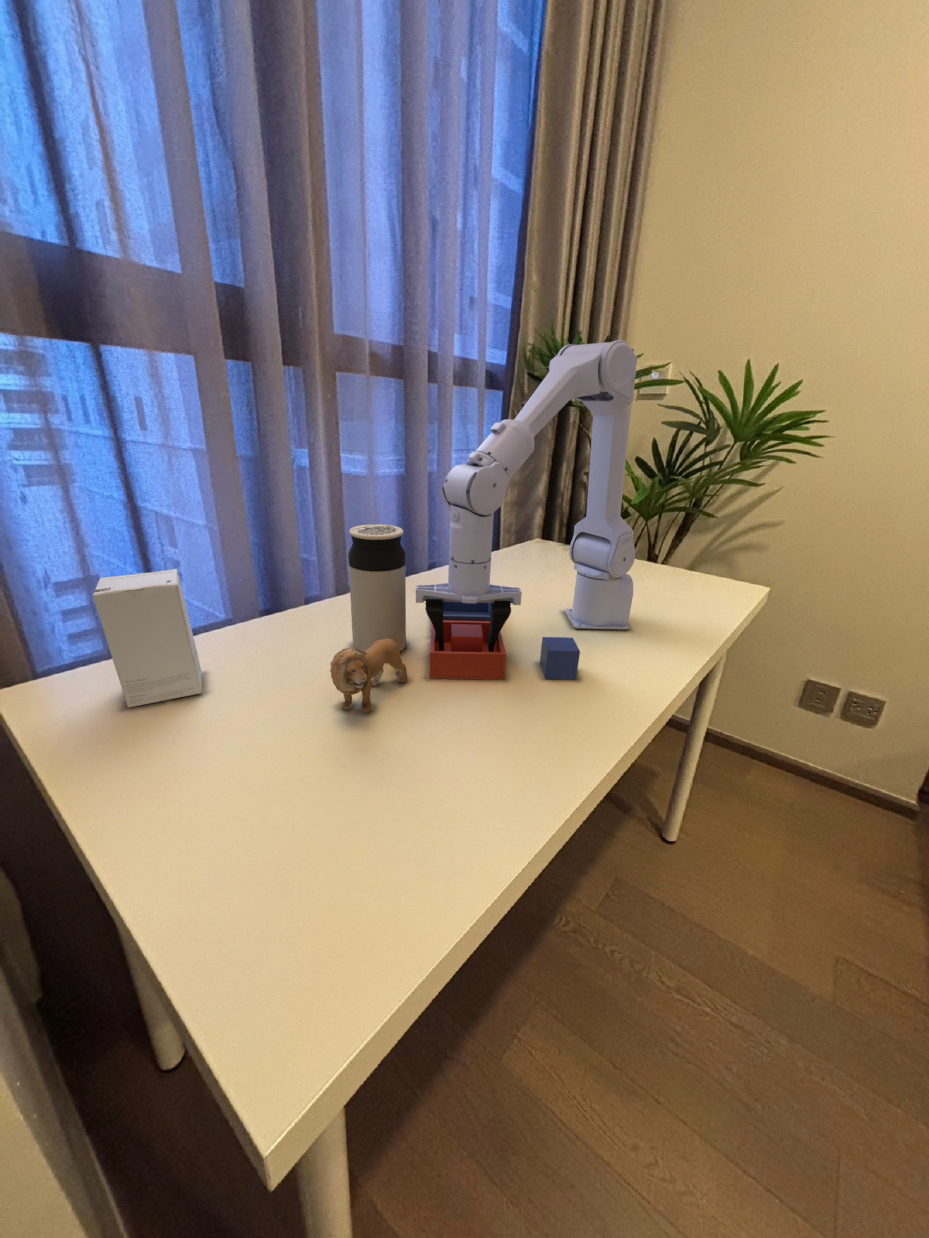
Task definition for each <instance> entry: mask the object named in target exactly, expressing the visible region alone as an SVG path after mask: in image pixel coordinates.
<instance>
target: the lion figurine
mask: <svg viewBox="0 0 929 1238" xmlns="http://www.w3.org/2000/svg"><path fill="white" fill-rule="evenodd" d="M329 664H330V669H329V672H330V677H331V681H332V684H333V685H334V686H335V688H336V690H337V691H339V692H340V693H341V694H342V695H343V698H344V701H342V702H341V705H340V707H341V709H342V710H349V709H350V708H351V707H352V706H353V696H354V695H357V694H359V693H360V692H361V698H362V699H361V708H360V709H361V712H362V713H370V712H372V710H373V709H372V702H371V693H372V692H371V691H372V687H374V686H377V685H378V684H379V683H380V681H381V678H382V676H383V675H384V672H385V671H384V666H385V665H386V664H387V665H389V666H391V667H392V668H393V669H394V670H395V671H399V672H400V675H399V676H398V677H397V681H398V682H399V683H406V682H407V681H408V674H407V666H406V664H405V663H404V662H403V660H402V657H401V651H399V647H398V645H397V643H396V642H395V641H394V640H392V639H382V640H377V641H376V642H374V643H373V644H372V645H371V646H370V647H369V648H368V649H367V650H365V651H364V652H361V651H360V650H358V649H354V647H353V648H352V647H347V648H342V649H341V650H340V651H339V650H338V652H337V653H336V654H334V656H333V658H332V660H331V661H330V663H329Z"/></svg>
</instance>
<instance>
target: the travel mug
mask: <svg viewBox="0 0 929 1238" xmlns="http://www.w3.org/2000/svg"><path fill="white" fill-rule="evenodd" d="M348 534H349V535H350V536H351V541H352V545H351V546H350V549H349V551H348V553H347V555H348V576H349V592H350V593H349V596H350V613H351V614H350V615H351V633H352V647H353V649H358V650H360V651H361V652H364V651H365V650H367V649H368V648H369V647H370V646H371V645H372V644H373V643H374V642H376V641H377V640H382V639H392V640H394V641H395V642H396V643H397V645H398V647H399V651H400V652H401V651H403V650H404V649H405V647H406V645H407V613H406V612H407V603H406V602H407V601H406V600H407V599H406V598H407V597H406V596H407V595H406V594H407V593H406V592H407V591H406V586H407V585H406V578H407V577H406V551H405V549H404V547H403V545H402V543H401V542H402V536H403V534H404V529H403V528H402V527H399V526H396V525H393V524H384V523H383V524H381V523H379V524H378V523H375V524H373V523H371V524H360V525H356V526H353V527H351V528H350V529H349V530H348Z"/></svg>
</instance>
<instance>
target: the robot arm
mask: <svg viewBox="0 0 929 1238" xmlns="http://www.w3.org/2000/svg"><path fill="white" fill-rule="evenodd" d="M637 365H638V357H637V356H636V353H635V352H634V350H633V349H632V348H631V345H629V343H628V342H627V341H626V340H622V339H616V340H612V341H610V342H609V341H607V342H606V341H605V342H595V343H583V344H574V343H571V344H569V343H568V344H566V345H564V346H562V348H560V350H558V352H557V354H556V355H555V356H554V357H553V358H551V359H550V361H549V366H548V368H549V369H548V372H547V374H546V375H545V377H544V378H543V379H542V381H541V382H540V384H539V385H538V386H537V388H536V389H535V391H533V393H532V395H531V396H530V397H529V399H528V400H527V401H526V403H525V404H524V405H523V407H522V408H521V409H520V411H519V412H518V414H517V415H516V417H514V419H508V418H507V419H503V420H501V421H499V422H494V424H493V425H492V426H491V427H490V434H489V435H488V436H487V437H486V438H485V439H484V440H483V442H482V443H480V445H479V447H477V449H476V450H475V451H472V452H471V453H470V454H469V455H468V457H467V458H468V459H467V460H466V462H465V463H461V464H457V465H455V466H453V468H452V469H450V471H448V473H447V475H446V477H445V480H444V484H443V485H441V486H440V493H441V497H442V499H443V501H444V503H445V504H446V507H447V517H448V518H449V534H448V535H449V541H448V575H447V577H448V578H447V582H446V583H435V584H417V585H415V603H416V604H423V603H425V612H426V615H427V617H428V618H429V620H430V623H431V626H432V625H433V627H434V630H435V633H436V636H437V640H438V644H439V651H444V629H443V608H444V602H462V603H477V602H480V603H491V608H490V627H489V634H488V651H489V652H493V651H494V646H495V643H496V640H497V637H498V635H499V633H500V631H502V628H503V627H504V625H505V624H506V622H507V620H508V619H509V618H510V616H511V613H512V607H511V605H513V606H521V604H522V593H523V592H522V590H521V588H520V587H516V586H515V587H514V586H513V587H512V586H503V585H497V584H491V567H492V551H493V550H492V549H493V534H494V533H493V532H494V518H495V517H494V516H495V512H496V511H497V510H498V509H499V508H501V507H502V505H503V503H504V501H505V498H506V494H507V488H508V487H509V486H510V482H511V479H512V478H513V477H514V475H515V474H516V473H517V472H518V471H519V469H520V468H521V467H522V466H523V464H524V463H525V462H526V461H527V460H528V458H529V457H531V455H532V454H533V453H534V451H535V437H536V436H537V435H538V433H539V432H540V431H541V430H543V428H544V427H545V426H546V425H547V424H548V423H549V422H550V421H551V420H552V419H553V418H554V417H555V416H556V415H557V414H558V413H559V412H560V411H561V410H562V409H563V408H564V407H565V406H566V404H568V403H569V401H571V400H573V399H575V400H576V401H578V402H581V403H582V404H583V405H585V407H586V408H587V409H588V410H589V412H590V413H591V414H592V427H591V443H590V457H589V470H588V471H589V472H588V484H587V485H588V487H587V499H586V500H587V501H586V514H585V515H586V516H585V517H583V518H582V519H581V520H580V521H578V522H577V523H576V524H575V525H573V527H574V529H573V536H572V539H571V542H570V545H569V550H568V552H569V553H568V555H569V558H570V561H571V562H572V563H573V564H574V565H573V570H575V571H576V577H575V583H574V584H575V586H574V592H573V600H572V607H571V608H566V609H565V610H564V612H565V615H566V616H567V618H568V620H569V621H570V624H572V626H573V628H574V629H585V630H629V629H630V626H629V621H630V614H631V610H632V609H631V608H632V603H633V599H634V598H633V597H634V580H633V577H632V576H631V574H629V573H628V572H629V571H630V570H631V569H632V567H633V565H634V563H635V559H636V548H635V543H634V536H635V531H634V530H633V528H632V527H631V526H630V525H629V524H628V523H627V522H626V521H625V520H624V519H623V517H622V516H621V513H622V503H623V493H624V483H625V482H624V481H625V473H626V463H627V453H628V442H629V432H630V422H631V412H632V411H631V410H632V405H633V403H634V396H635V386H636V377H637V375H636V374H637Z"/></svg>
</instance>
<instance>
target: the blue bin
mask: <svg viewBox="0 0 929 1238" xmlns="http://www.w3.org/2000/svg"><path fill="white" fill-rule="evenodd" d="M490 608H491V603H480V602H477V603H462V602H444V608H443V620H447V621H490Z"/></svg>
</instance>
